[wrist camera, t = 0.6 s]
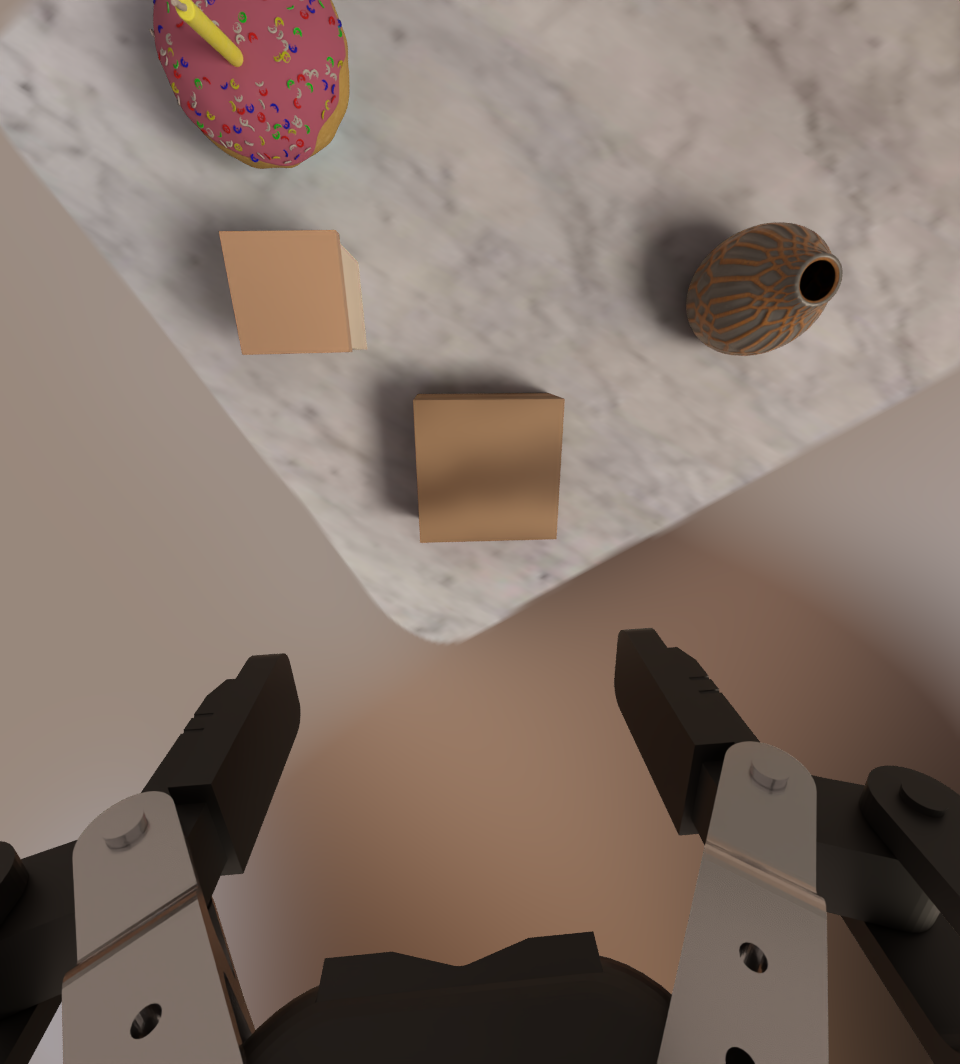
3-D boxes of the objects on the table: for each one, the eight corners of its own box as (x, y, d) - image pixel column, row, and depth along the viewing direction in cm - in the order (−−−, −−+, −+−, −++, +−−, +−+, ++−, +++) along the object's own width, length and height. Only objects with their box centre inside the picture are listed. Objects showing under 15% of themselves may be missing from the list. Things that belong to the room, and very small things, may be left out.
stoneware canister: (271, 259, 29) (218, 231, 22) (361, 258, 29) (335, 230, 22) (286, 354, 30) (242, 354, 24) (370, 352, 31) (349, 351, 24)
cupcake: (365, 202, 28) (309, 99, 17) (215, 188, 27) (53, 71, 16) (361, 10, 25) (290, -272, 14) (193, -11, 24) (-28, -328, 13)
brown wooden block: (417, 393, 32) (413, 400, 27) (547, 392, 33) (564, 399, 28) (423, 517, 35) (420, 542, 31) (541, 515, 36) (556, 539, 31)
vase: (691, 374, 33) (773, 381, 24) (654, 277, 30) (730, 249, 22) (785, 320, 32) (902, 309, 24) (754, 216, 29) (872, 163, 21)
